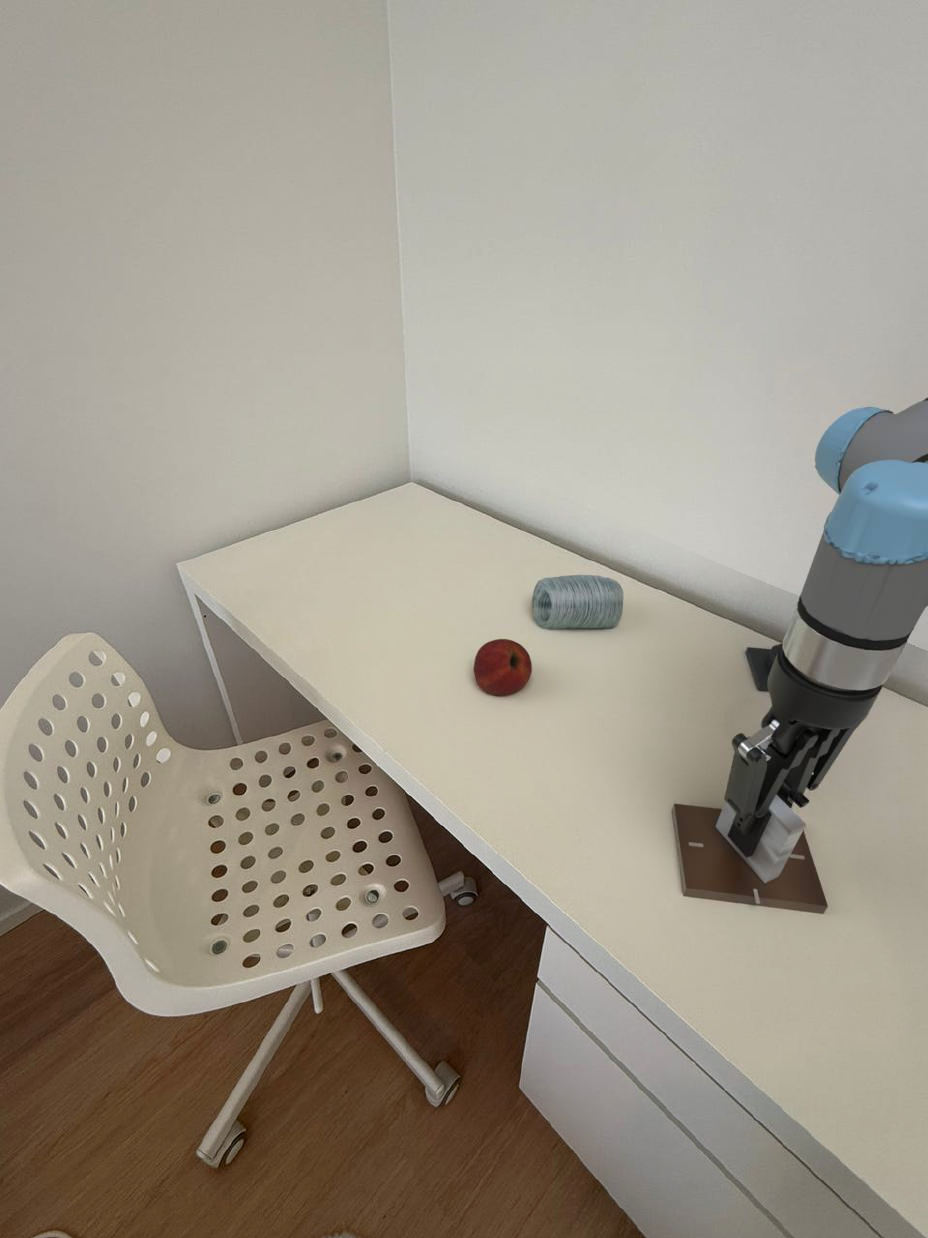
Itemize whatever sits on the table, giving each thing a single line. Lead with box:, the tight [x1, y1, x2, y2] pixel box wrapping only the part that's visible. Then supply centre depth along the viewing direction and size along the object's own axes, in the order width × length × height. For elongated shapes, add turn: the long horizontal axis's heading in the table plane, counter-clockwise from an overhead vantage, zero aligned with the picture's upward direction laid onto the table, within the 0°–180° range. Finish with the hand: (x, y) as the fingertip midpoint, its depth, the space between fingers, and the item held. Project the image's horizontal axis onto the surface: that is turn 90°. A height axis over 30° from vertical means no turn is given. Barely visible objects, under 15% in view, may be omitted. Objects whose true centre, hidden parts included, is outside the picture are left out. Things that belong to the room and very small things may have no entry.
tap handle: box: [716, 795, 807, 883], centre depth 63 cm, size 7×2×9 cm, turn 24°
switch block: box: [745, 642, 783, 693], centre depth 88 cm, size 10×8×4 cm
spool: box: [531, 574, 624, 630], centre depth 97 cm, size 14×10×10 cm
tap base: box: [671, 803, 829, 915], centre depth 66 cm, size 13×11×3 cm
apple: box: [473, 638, 533, 697], centre depth 86 cm, size 7×8×8 cm
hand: (749, 840), depth 64 cm, fingers closed on tap handle, 2 cm apart
